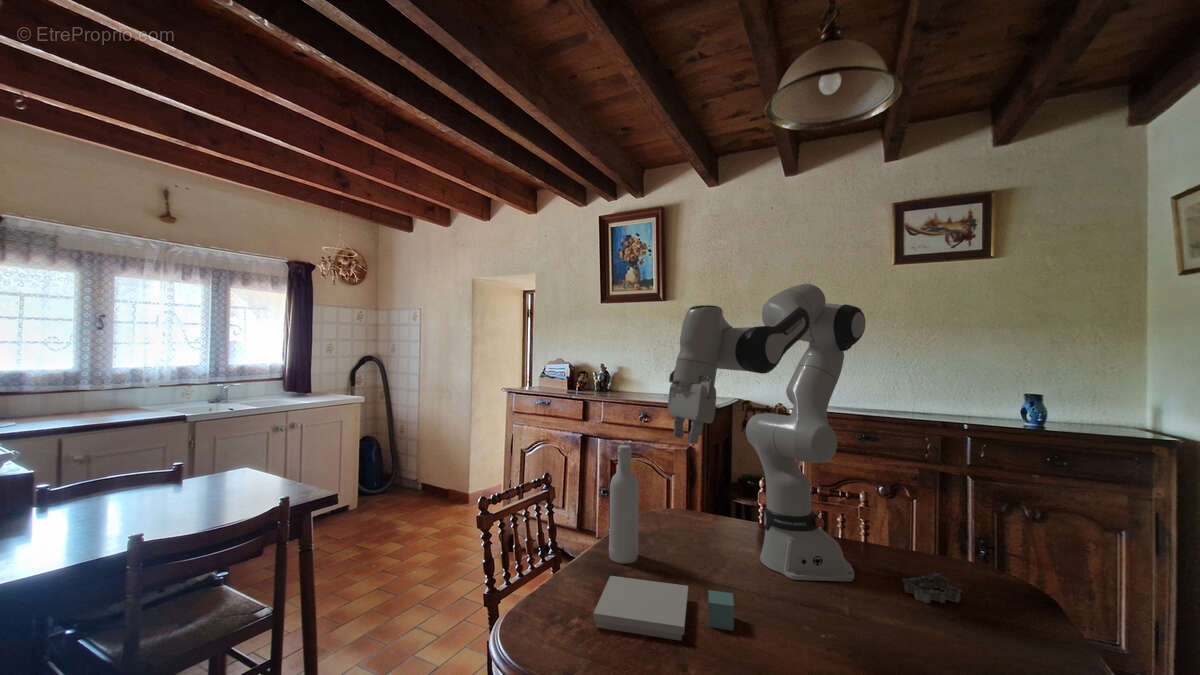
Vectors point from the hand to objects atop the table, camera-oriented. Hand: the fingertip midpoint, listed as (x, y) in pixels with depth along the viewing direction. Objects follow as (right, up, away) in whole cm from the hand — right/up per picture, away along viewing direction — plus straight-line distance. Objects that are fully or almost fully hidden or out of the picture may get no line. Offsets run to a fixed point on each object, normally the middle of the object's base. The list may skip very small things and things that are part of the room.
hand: (684, 440), depth 99 cm
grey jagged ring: (+59, -38, +8) cm, 71 cm away
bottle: (-12, -38, +26) cm, 47 cm away
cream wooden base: (-9, -37, 0) cm, 38 cm away
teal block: (+7, -37, -3) cm, 38 cm away
